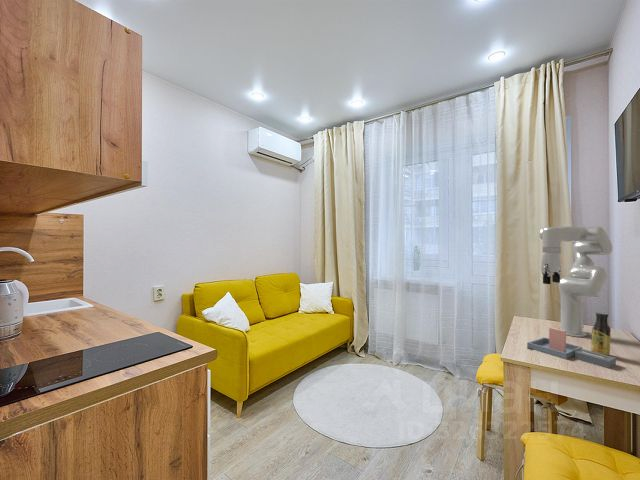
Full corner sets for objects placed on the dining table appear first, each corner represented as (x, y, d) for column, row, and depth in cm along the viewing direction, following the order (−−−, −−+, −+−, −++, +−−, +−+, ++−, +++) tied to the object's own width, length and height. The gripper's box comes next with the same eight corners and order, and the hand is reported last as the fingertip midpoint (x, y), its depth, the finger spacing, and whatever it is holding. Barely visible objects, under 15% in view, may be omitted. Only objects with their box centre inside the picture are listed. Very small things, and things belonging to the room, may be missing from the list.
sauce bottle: (587, 353, 137) (587, 310, 136) (599, 352, 137) (599, 310, 137) (602, 359, 130) (602, 314, 130) (614, 358, 131) (614, 314, 130)
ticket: (550, 347, 141) (550, 327, 141) (566, 352, 136) (565, 330, 136) (549, 348, 141) (549, 327, 140) (564, 352, 135) (564, 331, 135)
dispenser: (582, 356, 133) (582, 348, 133) (615, 366, 123) (615, 356, 123) (574, 359, 129) (574, 351, 129) (608, 369, 120) (608, 360, 120)
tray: (543, 343, 150) (543, 337, 150) (582, 353, 136) (582, 347, 136) (527, 348, 143) (527, 342, 143) (565, 360, 129) (565, 353, 129)
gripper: (551, 249, 161) (551, 280, 161) (534, 251, 153) (534, 283, 153) (568, 250, 154) (568, 282, 154) (551, 251, 146) (551, 285, 146)
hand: (551, 283), depth 154 cm, fingers open, 9 cm apart
